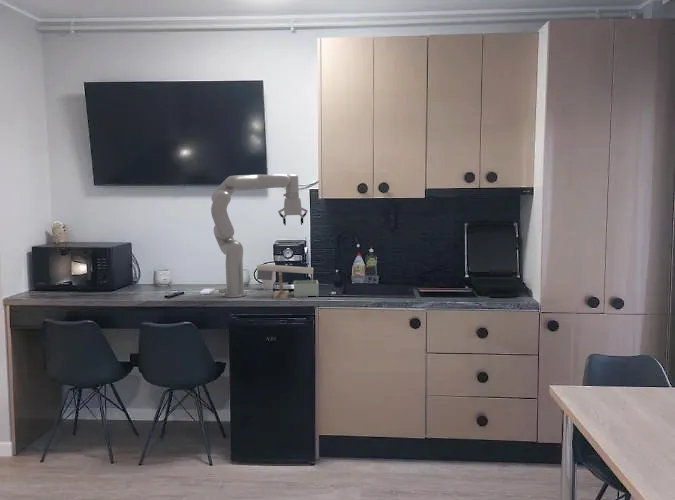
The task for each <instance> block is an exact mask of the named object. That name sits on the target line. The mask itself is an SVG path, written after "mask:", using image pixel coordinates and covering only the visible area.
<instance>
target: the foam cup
mask: <svg viewBox="0 0 675 500" xmlns="http://www.w3.org/2000/svg"><path fill="white" fill-rule="evenodd" d="M276 273H277V272H275V271H272V280H261V281H262V283H261V284H262V287H263V290H265V291H266V290H268V291H269V290H274V289H273V284H274V282H275V281H276ZM274 285H275V284H274Z"/></svg>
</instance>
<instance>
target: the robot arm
mask: <svg viewBox="0 0 675 500" xmlns="http://www.w3.org/2000/svg"><path fill="white" fill-rule="evenodd" d="M274 188H276V189H277V188H278V189H280V188H285V193H283V197H285V198H284V202H283V208H282V209H279V210H278V211H277V213H278V214H279V216H280V217H281V218H282V223H283V225H284V226H286V222H287V221H286V217H287V216H300V225H302V226H303V224H304V218H305V217H306V216H307V213H308V209H306V208H304V207H302V200H301V198H300V197H299V195H300V192H299V189H300V188H299V175H298V174H295V173H294V174H285V173H278V174H277V173H276V174H260V173H259V174H258V173H257V174H243V175H242V174H240V175H230V176H228V177H227V178H225V180H223V181H222V183H221V184H219V186H218V187H217V188H216V189H215V190H214V191H213V192H212V194H211V201H212V203H211V207H210V213H211V214H210V215H211V217H212V220H213V223H214V227H213V234H214V237H215V240H216V242H217V244H218V247H219V249H220V251H221V253H222V254H224V256H225V278H226V288H223V289H222V288H220V289H218V293H221V294H222V293H224V294H223V297H225V298H242V297H245V296H247V295H248V294H247V292H245V287H244V269H243V268H244V267H243V266H244V263H243V262H244V261H243V260H244V259H243V258H244V257H243V256H244V248H243V245H242V243H241V242H240V241H238V240H235V239H234V235H235V229H234V226H233V224H232V222H231V219H230V217H229V214H228V210H227V209H228V206H229V204H230V202H231V199H232V196H231V195H233V193H234V192H236V191H239V192H240V191H253V190H254V191H255V190H265V189H274ZM282 212H283V214H284V215H283V214H282ZM302 212H303V214H302Z"/></svg>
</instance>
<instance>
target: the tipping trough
mask: <svg viewBox="0 0 675 500" xmlns="http://www.w3.org/2000/svg"><path fill="white" fill-rule="evenodd" d="M256 271H257V274H256V275H257V277H256V280H261V281H262V280H272V271H276V273H277V272H278V273H279V271H282V273H293V274H296V273H297V274H309V275H311V280H312V281H313V280H314V267H309V266H308V267H307V266H291V265H276V264H262V263H257V265H256Z"/></svg>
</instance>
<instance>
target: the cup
mask: <svg viewBox="0 0 675 500" xmlns="http://www.w3.org/2000/svg"><path fill="white" fill-rule="evenodd" d="M319 286H320V285H319V281H318V279H313V281H312V279H307V280H293V297H294V298H309V297H308V296H316V297H319V296H320V295H319V294H320V291H319V289H320V288H319Z"/></svg>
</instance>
